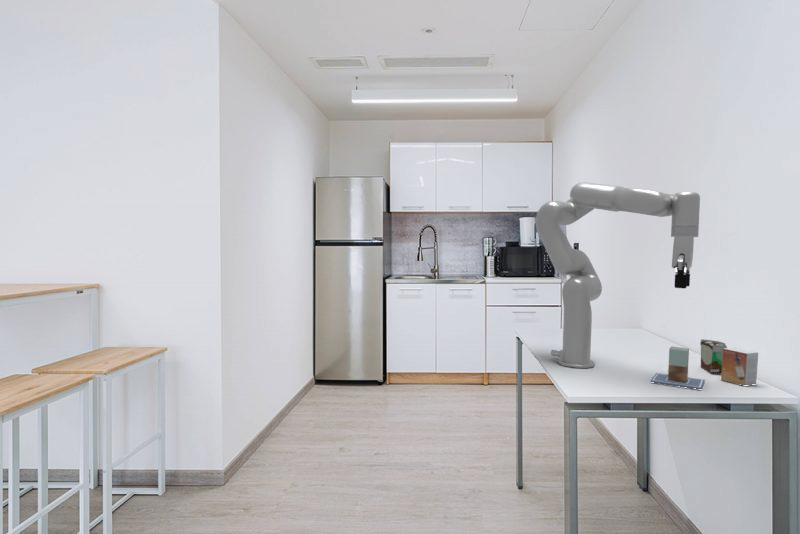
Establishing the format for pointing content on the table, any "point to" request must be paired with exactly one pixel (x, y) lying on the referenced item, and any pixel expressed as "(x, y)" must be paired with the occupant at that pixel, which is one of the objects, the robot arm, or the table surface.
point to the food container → (712, 356)
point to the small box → (739, 366)
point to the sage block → (678, 356)
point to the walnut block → (678, 373)
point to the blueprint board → (689, 384)
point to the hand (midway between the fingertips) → (682, 287)
